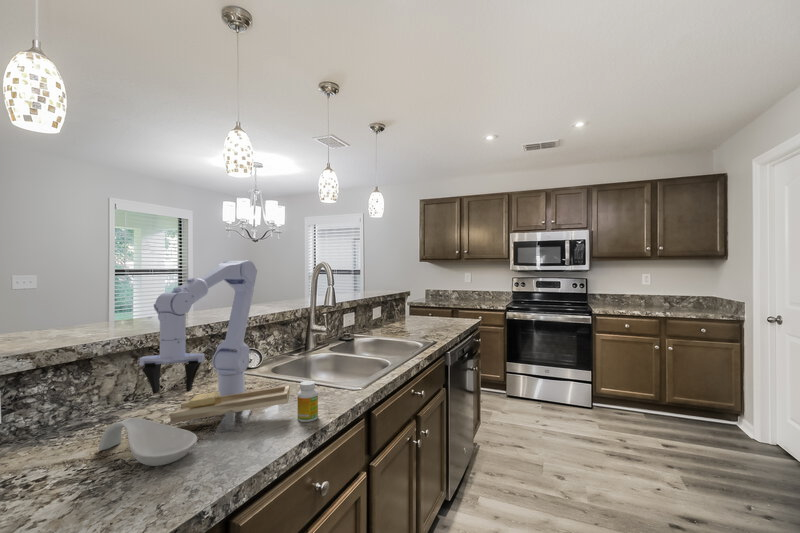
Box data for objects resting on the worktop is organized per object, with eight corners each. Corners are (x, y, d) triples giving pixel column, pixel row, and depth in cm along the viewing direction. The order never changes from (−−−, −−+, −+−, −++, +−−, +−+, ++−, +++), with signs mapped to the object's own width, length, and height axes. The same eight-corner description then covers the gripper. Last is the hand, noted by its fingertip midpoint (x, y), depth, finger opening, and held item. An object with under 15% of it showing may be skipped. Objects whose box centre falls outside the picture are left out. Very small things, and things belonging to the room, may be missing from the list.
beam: (183, 413, 98) (182, 402, 98) (290, 395, 104) (289, 384, 104) (170, 425, 90) (169, 413, 90) (287, 405, 96) (286, 394, 96)
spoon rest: (209, 450, 82) (209, 418, 82) (160, 479, 71) (160, 442, 71) (133, 437, 89) (133, 407, 89) (78, 461, 78) (78, 427, 78)
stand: (228, 414, 102) (228, 398, 102) (251, 412, 103) (251, 396, 103) (216, 433, 90) (216, 414, 90) (242, 430, 91) (241, 412, 92)
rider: (196, 406, 97) (195, 395, 97) (220, 402, 98) (219, 391, 98) (190, 413, 92) (189, 401, 92) (215, 408, 93) (214, 397, 93)
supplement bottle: (312, 423, 96) (312, 386, 96) (293, 421, 97) (293, 385, 97) (321, 415, 101) (320, 380, 101) (303, 414, 102) (303, 379, 102)
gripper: (133, 343, 88) (133, 398, 88) (198, 340, 92) (198, 394, 91) (146, 338, 95) (146, 389, 95) (207, 335, 98) (207, 385, 98)
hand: (172, 391), depth 94 cm, fingers open, 7 cm apart
